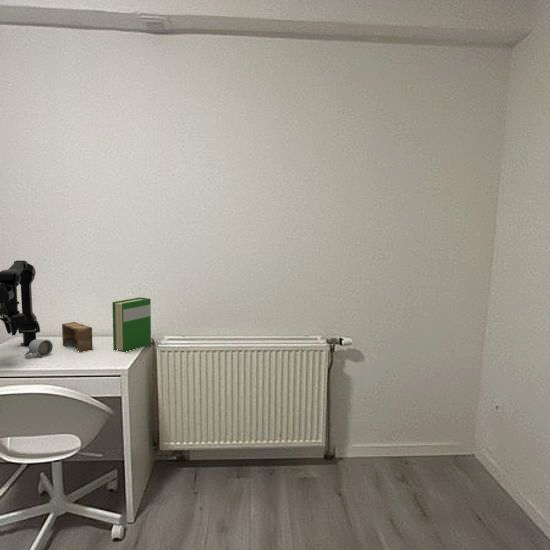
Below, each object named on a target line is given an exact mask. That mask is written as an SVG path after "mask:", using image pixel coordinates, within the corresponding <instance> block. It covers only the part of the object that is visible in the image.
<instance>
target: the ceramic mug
mask: <svg viewBox="0 0 550 550" xmlns="http://www.w3.org/2000/svg"><path fill="white" fill-rule="evenodd" d="M53 349H54V346H53V342H52V341H51V340H49V339H40V338H36V340H33V341H32V342H31V343H30V344H29V346H28V350H27V351H26V352H25V354H24V357H25V359H27V358H30V359H33V358H34V357H36V356H38V357H39V356H40V357H43V358H44V356H45V357H47V356H49V355H50V354H51V353H52V352H53Z"/></svg>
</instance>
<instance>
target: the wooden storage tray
mask: <svg viewBox="0 0 550 550" xmlns="http://www.w3.org/2000/svg"><path fill="white" fill-rule="evenodd" d="M61 330H62V332H61V333H62V334H61V335H62V346H63V347H65V346H66V347H75V346H76V345H77V346H76V348H77V352H78V351H79V352H78V353H84V352H83V351H85V352H88V350H90V351H92V349H94V348H93V327H92V326H89V325H85V324H82V323H79V322H76V321H72V322H65V323H61Z"/></svg>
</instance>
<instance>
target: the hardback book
mask: <svg viewBox="0 0 550 550" xmlns="http://www.w3.org/2000/svg"><path fill="white" fill-rule="evenodd" d="M151 302H152V301H151V298H147V297H133V298H128V299H127V298H126V299H122V300H115V301H112V304H111V305H112V306H111V307H112V338H113V339H112V340H113V343H112V345H113V347H112V348H113V351H114V350H115V351H122V353H123V352H125V353H127V352H126V351H128V352H130V351H129V350H131V351H134V350H133V349H135V350H137V349H136V348H138V349H141V348H144V347H147V346H151V345H152V315H151V314H152V313H151V312H152V310H151V309H152V308H151V307H152V304H151ZM140 347H141V348H140ZM117 349H118V350H117Z"/></svg>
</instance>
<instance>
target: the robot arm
mask: <svg viewBox="0 0 550 550" xmlns="http://www.w3.org/2000/svg"><path fill="white" fill-rule="evenodd" d="M36 273H37V272H36V269H35V267H34V265H32V264H31V263H29V262H28V261H27V260H15V261H14V260H13V264H12V265H11V266H10V267H9V268H8V269H3V270H1V271H0V321H1V322H3V325H4V327H5V329H6V332H7V334H11V336H14V337H15V336H16V335H17V332H18V334H20V335H21V334H22V339H23V342H20V345H21V344H22V346H24V347H29V344H30V343H31V342H32V341H33V340H36V339H37V334H38V333H41V326H40V323H39V321H38V320H37V316H36V315H35V313H34V312H33V311H34V310H33V297H32V296H33V294H32V292H33V291H32V283H33V282H34V280H35V277H36ZM19 285H20V298H21V312H20V310H19V308H18V306H19V305H20V301H18V286H19Z"/></svg>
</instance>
